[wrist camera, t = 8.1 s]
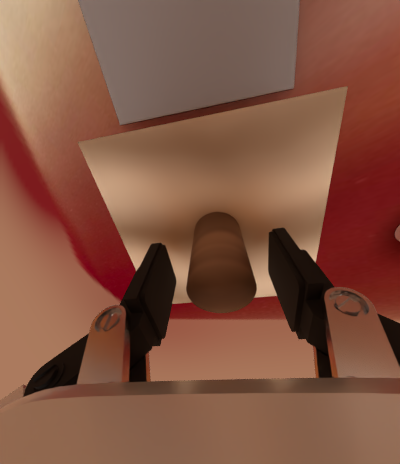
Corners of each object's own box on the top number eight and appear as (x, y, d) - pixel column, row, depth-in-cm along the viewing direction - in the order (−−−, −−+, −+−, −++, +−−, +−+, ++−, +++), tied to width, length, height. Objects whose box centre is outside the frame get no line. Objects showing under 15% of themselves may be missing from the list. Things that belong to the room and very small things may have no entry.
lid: (89, 140, 11) (-26, 155, 6) (332, 90, 10) (502, 42, 4) (155, 295, 18) (131, 369, 13) (303, 282, 16) (351, 362, 11)
